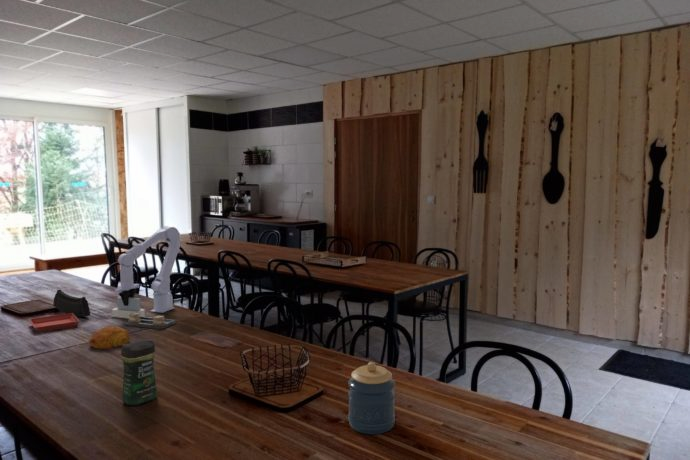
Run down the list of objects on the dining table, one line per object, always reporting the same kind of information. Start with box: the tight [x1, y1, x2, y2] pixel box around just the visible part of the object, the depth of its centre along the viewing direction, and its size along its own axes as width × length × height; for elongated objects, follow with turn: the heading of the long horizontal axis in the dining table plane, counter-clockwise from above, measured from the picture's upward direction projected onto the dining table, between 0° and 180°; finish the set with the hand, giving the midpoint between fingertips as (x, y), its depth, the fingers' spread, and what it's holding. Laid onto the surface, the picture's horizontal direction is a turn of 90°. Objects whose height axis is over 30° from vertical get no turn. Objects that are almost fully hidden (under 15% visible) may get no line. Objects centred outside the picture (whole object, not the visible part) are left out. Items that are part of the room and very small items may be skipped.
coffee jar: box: [120, 338, 158, 406], centre depth 152 cm, size 10×8×19 cm
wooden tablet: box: [189, 331, 244, 349], centre depth 210 cm, size 26×2×10 cm
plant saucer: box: [29, 313, 80, 333], centre depth 231 cm, size 18×18×3 cm
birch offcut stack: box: [127, 313, 140, 323], centre depth 233 cm, size 4×4×5 cm
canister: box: [347, 361, 396, 435], centre depth 137 cm, size 13×13×18 cm
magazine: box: [52, 289, 91, 318], centre depth 250 cm, size 17×3×30 cm
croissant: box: [88, 325, 131, 350], centre depth 205 cm, size 14×16×8 cm
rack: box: [122, 316, 176, 330], centre depth 233 cm, size 10×22×2 cm, turn 71°
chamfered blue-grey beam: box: [116, 296, 141, 311], centre depth 245 cm, size 2×12×8 cm, turn 71°
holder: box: [110, 307, 147, 320], centre depth 246 cm, size 6×16×4 cm, turn 71°
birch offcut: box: [152, 315, 165, 323], centre depth 228 cm, size 3×3×2 cm
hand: (128, 304), depth 245 cm, fingers closed on chamfered blue-grey beam, 2 cm apart
